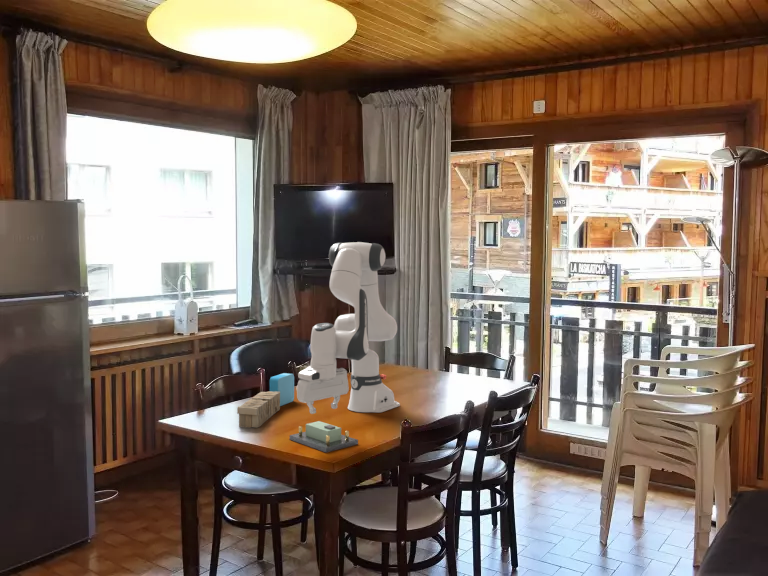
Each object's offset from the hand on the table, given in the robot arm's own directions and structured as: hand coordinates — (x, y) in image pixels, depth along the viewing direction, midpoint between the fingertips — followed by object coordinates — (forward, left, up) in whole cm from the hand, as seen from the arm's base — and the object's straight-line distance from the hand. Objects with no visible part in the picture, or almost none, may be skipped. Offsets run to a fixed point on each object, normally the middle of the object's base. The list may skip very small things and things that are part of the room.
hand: (323, 410), depth 245 cm
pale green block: (0, 0, -9) cm, 9 cm away
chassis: (0, 0, -11) cm, 11 cm away
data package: (-22, -55, -11) cm, 60 cm away
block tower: (-1, -41, -11) cm, 42 cm away
